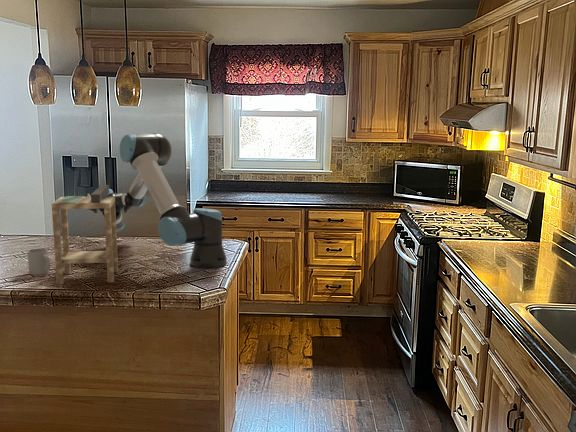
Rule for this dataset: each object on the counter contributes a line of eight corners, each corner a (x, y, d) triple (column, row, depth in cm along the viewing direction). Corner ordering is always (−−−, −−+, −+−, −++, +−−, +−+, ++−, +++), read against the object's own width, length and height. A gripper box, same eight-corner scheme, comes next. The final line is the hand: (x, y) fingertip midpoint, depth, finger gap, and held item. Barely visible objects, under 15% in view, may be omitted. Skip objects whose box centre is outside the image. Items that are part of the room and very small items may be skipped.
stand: (118, 270, 231) (114, 195, 225) (113, 282, 215) (109, 202, 210) (65, 272, 227) (60, 196, 222) (56, 284, 212) (51, 202, 206)
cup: (40, 269, 231) (39, 247, 230) (57, 272, 227) (56, 250, 225) (24, 273, 225) (23, 251, 223) (42, 277, 220) (40, 254, 219)
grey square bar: (109, 192, 235) (108, 184, 235) (100, 202, 210) (99, 194, 209) (101, 192, 235) (101, 185, 234) (91, 202, 210) (90, 194, 209)
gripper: (141, 221, 258) (136, 204, 238) (82, 222, 254) (73, 205, 234) (141, 205, 261) (136, 187, 241) (83, 206, 257) (74, 188, 237)
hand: (105, 196), depth 238 cm, fingers open, 13 cm apart
